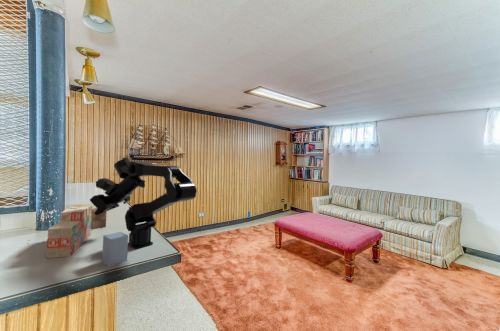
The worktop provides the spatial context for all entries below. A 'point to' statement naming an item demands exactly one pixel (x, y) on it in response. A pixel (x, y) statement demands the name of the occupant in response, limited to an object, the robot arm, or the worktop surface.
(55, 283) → the worktop surface
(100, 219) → the walnut block
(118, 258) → the slate-blue block
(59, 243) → the stack of blocks
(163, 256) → the worktop surface
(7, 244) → the worktop surface
